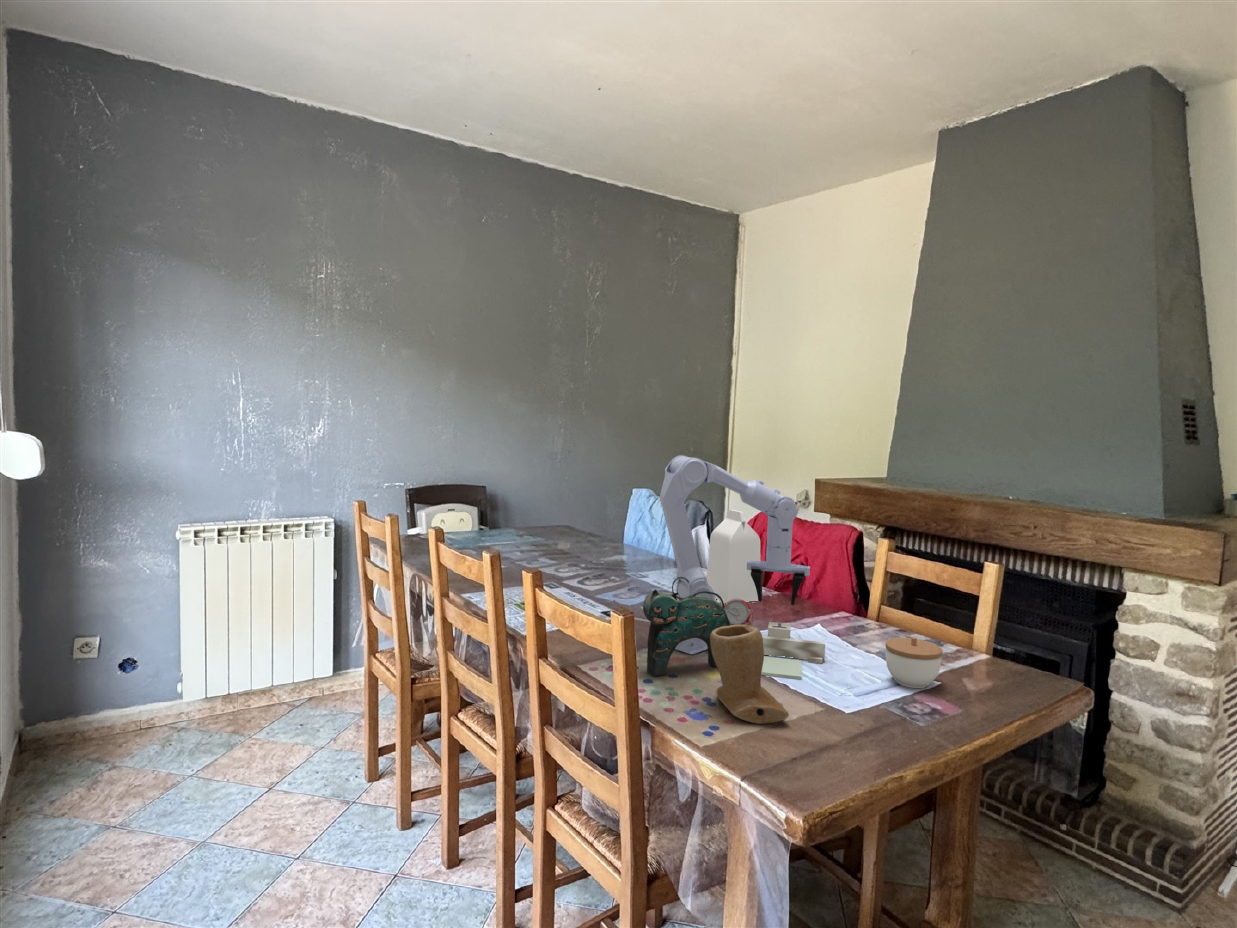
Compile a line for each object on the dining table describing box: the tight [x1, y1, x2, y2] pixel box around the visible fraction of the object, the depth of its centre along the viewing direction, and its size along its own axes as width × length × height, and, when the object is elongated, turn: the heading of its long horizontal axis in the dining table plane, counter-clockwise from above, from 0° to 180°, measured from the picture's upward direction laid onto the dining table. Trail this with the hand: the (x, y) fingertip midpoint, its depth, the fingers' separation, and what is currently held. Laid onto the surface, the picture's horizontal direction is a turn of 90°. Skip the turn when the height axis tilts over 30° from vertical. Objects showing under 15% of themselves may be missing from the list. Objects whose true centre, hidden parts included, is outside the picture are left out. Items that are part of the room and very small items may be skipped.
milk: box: [706, 508, 762, 603], centre depth 205 cm, size 12×12×26 cm
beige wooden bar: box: [762, 635, 826, 664], centre depth 157 cm, size 20×4×4 cm, turn 76°
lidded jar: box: [885, 636, 943, 689], centre depth 143 cm, size 11×11×9 cm
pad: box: [761, 656, 803, 680], centre depth 149 cm, size 10×10×1 cm
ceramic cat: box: [642, 577, 730, 677], centre depth 147 cm, size 20×6×20 cm, turn 112°
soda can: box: [724, 599, 755, 627], centre depth 168 cm, size 7×7×12 cm
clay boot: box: [710, 625, 790, 725], centre depth 127 cm, size 15×12×15 cm
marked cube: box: [767, 621, 792, 639], centre depth 163 cm, size 5×5×5 cm
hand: (776, 602), depth 166 cm, fingers open, 7 cm apart
